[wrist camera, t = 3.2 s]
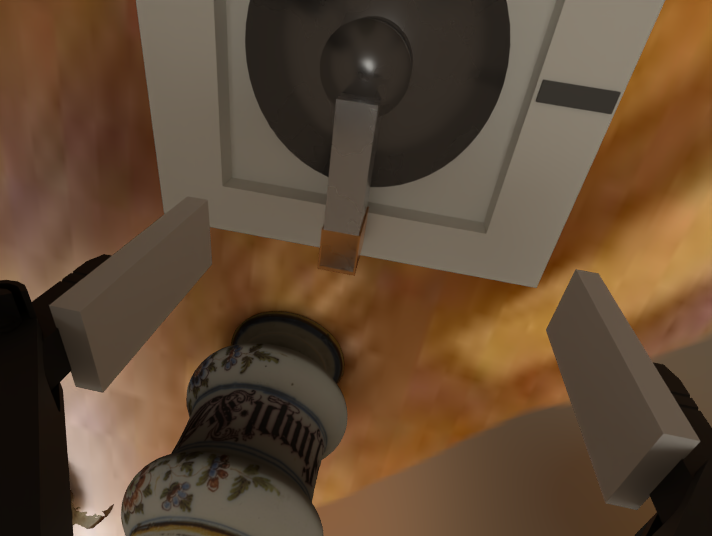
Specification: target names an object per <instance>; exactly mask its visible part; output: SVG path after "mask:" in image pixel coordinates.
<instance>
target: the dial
mask: <svg viewBox="0 0 712 536" xmlns="http://www.w3.org/2000/svg"><path fill="white" fill-rule="evenodd" d="M245 49H246V62H247V67H248V73H249V78H250V82H251V85H252V88H253V92H254V95H255V98H256V100H257V102H258V105H259V107H260V109H261V112H262V113H263V115H264V117H265V119H266V121H267V122H268V124H269V126H270V127H271V129H272V130H273V131H274V133H275V134H276V136H277V137H278V138H279V140H280V141H281V142H282V143H283V144H284V145H285V146H286V147H287V148H288V150H289V151H290V152H292V153H293V154H294V155H295V156H296V157H297V158H298V159H300V160H301V161H302V162H303V163H305V164H306V165H308V166H309V167H311V168H312V169H314V170H315V171H317V172H319V173H321V174H323V175H325V176H327V177H329V178H328V188H327V199H326V209H325V219H324V225H323V227H322V229H321V240H320V251H319V261H318V269H322V270H328V271H333V272H338V273H343V274H349V275H354V276H355V272H356V268H357V265H358V261H359V257H360V253H361V250H362V246H363V242H364V235H365V229H366V223H367V216H368V210H369V207H367V205H368V199H369V192H370V187H389V186H397V185H402V184H406V183H409V182H413V181H416V180H419V179H421V178H423V177H426V176H428V175H430V174H432V173H434V172H436V171H438V170H439V169H441V168H443V167H444V166H446V165H447V164H448V163H450V162H451V161H452V160H454V159H455V158H456V157H457V156H459V155H460V154H461V153H462V152H463V151H464V150H465V149H466V148H467V147H468V146H469V145H470V144H471V143H472V141H473V140H474V139H475V138H476V137H477V135H478V134H479V133H480V131H481V130H482V128H483V127H484V125H485V124H486V122H487V121H488V119H489V117H490V115H491V113H492V112H493V110H494V108H495V106H496V104H497V101H498V99H499V96H500V93H501V90H502V88H503V85H504V81H505V77H506V72H507V68H508V62H509V53H510V20H509V13H508V6H507V1H506V0H250V2H249V6H248V13H247V19H246V31H245Z"/></svg>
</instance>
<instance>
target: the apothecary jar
mask: <svg viewBox="0 0 712 536" xmlns="http://www.w3.org/2000/svg"><path fill="white" fill-rule="evenodd" d="M343 371H344V358H343V354H342V351H341V348H340V346H339V344H338V343H337V341H336V340H335V338H334V337H333V336H332V335H331V334H330V333H329V332H328V331H327V330H326V329H325V328H323V327H322V326H320V325H319V324H317V323H316V322H314V321H312V320H310V319H308V318H305V317H303V316H300V315H297V314H293V313H288V312H266V313H261V314H258V315H255V316H253V317H251V318H249V319H247V320H245V321H244V322H243V323H242V324H241V325H240V326H239V327H238V328H237V329H236V331H235V333H234V335H233V338H232V342H231V346H228V347H225V348H223V349H221V350H218V351H217V352H215V353H213V354H212V355H210V356H209V357H208V358H206V359H205V360H204V361H203V362H202V363H201V364H200V365H199V367H198V368H197V369H196V370H195V372H194V374H193V376H192V377H191V380H190V382H189V385H188V389H187V399H186V400H187V409H188V413H189V417H190V418H189V421H188V423H187V425H186V427H185V429H184V431H183V433H182V435H181V437H180V439H179V441H178V443H177V445H176V446H175V448H174V450H173V452H172V453H171V454H170V455H166V456H163V457H161V458H158V459H156V460H155V461H153V462H151V463H150V464H148V465H147V466H145V467H144V468H143V469H142V470H141V471H140V472H139V473H138V474H137V475H136V476H135V477H134V478H133V480H132V481H131V483H130V484H129V486H128V488H127V490H126V492H125V495H124V498H123V502H122V509H121V519H122V525H123V529H124V532H125V535H126V536H323V528H322V524H321V520H320V518H319V515H318V513H317V511H316V509H315V507H314V505H313V504H312V498H313V493H314V488H315V484H316V479H317V475H318V471H319V467H320V464H321V460H322V459H324V458H325V457H327V456H328V455H329V454H330V453H331V452H333V451H334V449H335V448H336V447H337V446H338V444H339V443H340V441H341V439H342V437H343V435H344V433H345V430H346V426H347V408H346V403H345V399H344V397H343V394H342V392H341V390H340V388H339V387H338V385H337V384H338V382H339V381H340V379H341V377H342V375H343Z"/></svg>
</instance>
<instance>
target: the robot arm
mask: <svg viewBox="0 0 712 536" xmlns="http://www.w3.org/2000/svg"><path fill="white" fill-rule="evenodd" d="M211 265H212V256H211V240H210V224H209V208H208V200H205V199H200V198H195V197H189V196H187V197H186V198H185V199H183V200H182V201H181V202H180V203H178V204H177V205H176V206H175V207H173V208H172V209H171V210H169V211H168V212H167V213H166V214H164V215H163V216H162V217H161V218H159V219H158V220H157V221H155V222H154V223H153V224H152V225H150V226H149V227H148V228H147V229H145V230H144V231H143V232H141V233H140V234H139V235H138V236H136V237H135V238H134V239H133V240H131V241H130V242H129V243H128V244H126V245H125V246H124V247H122V248H121V249H120V250H119V251H117V252H116V253H115V254H114V255H112V256H110V255H105V254H103V255H101V256H98V257H96V258H94V259H91V260H89V261H86V262H85V263H84V264H82V265H81V266H80V267H78V268H77V269H76V270H74V271H73V273H70V274H69V275H67V276H66V277H65V278H63V280H62V282H61V281H59V282H58V283H57V284H55V285H54V286H53V287H51V288H50V289H49V290H47V291H46V292H45V293H43V294H42V295H41V296H39V297H38V298H37V299H35V300H34V301H33V302H31V299H30V297H29V294H28V291H27V289H26V287H25V285H24V284H22V283H20V282H18V281H10V280H1V281H0V536H73V524H72V510H71V496H70V482H69V468H68V454H67V440H66V426H65V412H64V398H63V389H62V386H61V384H60V381H61V380H62V379H63V378H64V377H65V376H66V375H67V374H68V373H69V372H70V371H71V373H72V377H73V380H74V383H75V386H76V387H80V388H84V389H89V390H93V391H98V392H104V391H105V390H106V389H107V387H108V386H109V385H110V384H111V383H112V381H113V380H114V379H115V378H116V377H117V376H118V374H119V373H120V372H121V371H122V370H123V368H124V367H125V366H126V365H127V364H128V363H129V361H130V360H131V359H132V358H133V357H134V355H135V354H136V353H137V352H138V351H139V350H140V348H141V347H142V346H143V345H144V344H145V342H146V341H147V340H148V339H149V338H150V337H151V335H152V334H153V333H154V332H155V331H156V330H157V328H158V327H159V326H160V325H161V324H162V322H163V321H164V320H165V319H166V318H167V317H168V315H169V314H170V313H171V312H172V311H173V309H174V308H175V307H176V306H177V305H178V304H179V302H180V301H181V300H182V299H183V298H184V296H185V295H186V294H187V293H188V292H189V291H190V289H191V288H192V287H193V286H194V285H195V283H196V282H197V281H198V280H199V279H200V278H201V276H202V275H203V274H204V273H205V272H206V271H207V269H208V268H209V267H210V266H211ZM546 331H547V334H548V337H549V340H550V343H551V346H552V349H553V352H554V355H555V357H556V360H557V363H558V366H559V369H560V372H561V375H562V378H563V381H564V384H565V386H566V389H567V392H568V395H569V398H570V401H571V404H572V407H573V410H574V413H575V416H576V418H577V421H578V424H579V427H580V430H581V433H582V436H583V439H584V442H585V444H586V447H587V450H588V453H589V456H590V459H591V462H592V465H593V468H594V471H595V474H596V477H597V479H598V482H599V485H600V488H601V491H602V493H603V497H604V500H605V503H608V504H612V505H617V506H622V507H626V508H630V509H635V510H638V508H640V506H641V505H642V504H643V503H644V502H645V501H646V500H647V499H648V498H649V497H651V499H652V502H653V504H654V506H655V508H656V511H657V513H656V514H655V515H654V516H653V517H652V518H651V519H650V520H649V521H648V522H647V523H646V524H645V525H644V526H643V527H642V528H641V529H640V530H639V531H638V532H637V533H636V534H635V536H712V428H711V426H710V425H709V423H708V422H707V420H706V419H705V417H704V416H703V414H702V413H701V411H698V406H697V405H696V404H695V402H694V400H693V399H692V398H690V394H689V393H688V391H687V390H686V388H685V387H684V385H683V384H682V382H681V380H680V379H679V378H678V377H677V376H675V375H674V374H673V373H672V372H671V371H670V370H669V369H668V368H667V367H666V366H665V365H663V364H658V363H653V362H652V361H651V359H650V357H649V356H648V354H647V352H646V351H645V349H644V348H643V346H642V344H641V343H640V341H639V339H638V338H637V336H636V334H635V333H634V331H633V329H632V328H631V326H630V325H629V323H628V321H627V320H626V318H625V316H624V315H623V313H622V311H621V310H620V308H619V307H618V305H617V303H616V302H615V300H614V298H613V297H612V295H611V293H610V292H609V290H608V288H607V287H606V285H605V284H604V282H603V280H602V279H601V277H600V275H599V274H598V273H593V272H587V271H582V270H577V269H576V270H575V272H574V274H573V276H572V278H571V280H570V282H569V284H568V286H567V288H566V290H565V292H564V294H563V296H562V298H561V301H560V303H559V305H558V307H557V309H556V311H555V313H554V315H553V317H552V319H551V321H550V323H549V325H548V327H547V329H546Z"/></svg>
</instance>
